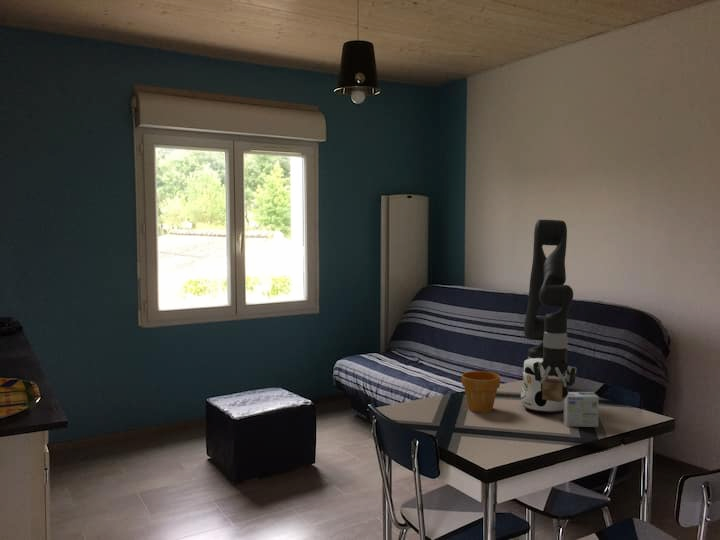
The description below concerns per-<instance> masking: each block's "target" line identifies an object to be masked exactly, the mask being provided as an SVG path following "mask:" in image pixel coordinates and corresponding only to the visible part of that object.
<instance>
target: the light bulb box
mask: <svg viewBox="0 0 720 540" xmlns="http://www.w3.org/2000/svg"><path fill="white" fill-rule="evenodd" d="M563 422H564V423H565V425H566V427H573V428H574V427H579V428H581V427H583V428H584V427H585V428H599V396H598V395H597V394H596V393H595V392H594V391H568V395H567V396H566V398H565V399H564V411H563Z"/></svg>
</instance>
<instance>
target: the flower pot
mask: <svg viewBox="0 0 720 540" xmlns="http://www.w3.org/2000/svg"><path fill="white" fill-rule="evenodd" d="M461 385H462V387H463V388H464V392H465V399H466V402H467V407H468V410H469V411H472V412H475V413H489V412H492V411H493V409H494V405H495V400H496V396H497V392H498V391H497V390H498V389H500V385H501V376H500V374H497V373H495V372H490V371H481V370H480V371H478V370H476V371H474V370H473V371H467V372H464V373H462V374H461Z"/></svg>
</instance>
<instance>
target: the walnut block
mask: <svg viewBox="0 0 720 540" xmlns="http://www.w3.org/2000/svg"><path fill="white" fill-rule="evenodd" d="M562 396H563V383H562V382H561V380H560V379H556V378H549V377H548V379H546V380H544V381H542V399H543V400H550V401H556V402H562V401H563V400H564V399H565V398H566V397H565V398H563V397H562Z"/></svg>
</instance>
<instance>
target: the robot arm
mask: <svg viewBox="0 0 720 540" xmlns="http://www.w3.org/2000/svg"><path fill="white" fill-rule="evenodd" d="M567 238H568V227H567V224H566V222H565V221H564V220H559V219H538V220H537V221H536V222H535V225H534V231H533V249H532V250H533V251H532V253H533V254H532V264H531V271H530V276H529V277H530V278H529V288H528V289H529V291H528V302H527V308H526V313H525V319H524V325H523V326H524V327H523V332H524V337H525V339H527V340H531V341H542V342H541V343H539V344H538V345H535V346H532V347H530V348H529V349H527V359H533V358H543V362H535V363H534V364H533V366H534V374H535V380H536V381H539V382H540V383H541V392H542V381H544V380H546V379H548V377H549V376H556V377H559V378H560V380H561V382H562V383H563V396H562V397H563V398H565V397H566V396H567V395H568V392H569V387H571V386H573V385H575V383H576V378H577V377H576V376H577V372H578V367H576V366H570V365H569V364H568V345H569V344H568V333H567V331H568V330H567V329H568V317H569V316H568V315H569V311H570V309H571V305H572V303H573V299H574V291H573V288H572V287H571V286H570V285H567V284H565V283H566V280H567V274H566V255H567V254H566V253H567V241H568V239H567ZM543 246H553V247H555V246H556V247H555V249H553V251H552V252H550V253H549V255H548V256H547V257H546V254H545V252H544V248H543ZM543 306H544V307H560V309H559V310H558V311H555V312H550V313H547V314H545V316H538V314H539V311H540V310H541V308H542V307H543ZM541 366H542V367H543V368H544V370H545V373H544V375H543V377H541V373H540V368H541ZM566 370H567V371H568V373H569V378H568V377H567V376H568V375H567V376H566V374H567V373H566V374H565V371H566ZM563 374H564V375H563ZM568 379H569V380H568Z"/></svg>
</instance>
